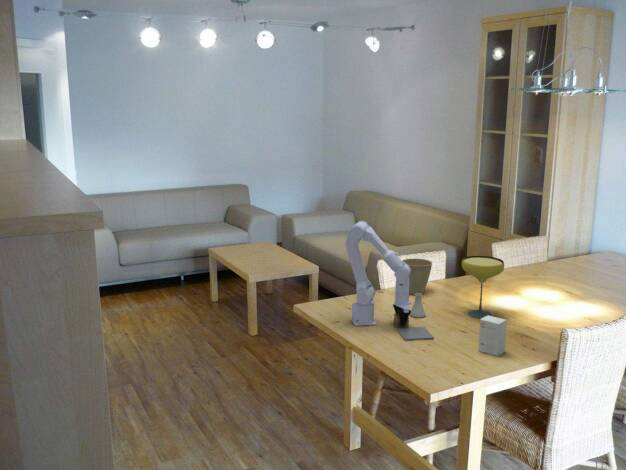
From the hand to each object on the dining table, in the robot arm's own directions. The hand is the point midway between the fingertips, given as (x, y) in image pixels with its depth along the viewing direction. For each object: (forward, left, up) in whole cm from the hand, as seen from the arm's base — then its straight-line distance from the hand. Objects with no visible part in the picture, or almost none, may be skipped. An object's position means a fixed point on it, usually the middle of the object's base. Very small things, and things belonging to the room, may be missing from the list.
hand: (401, 323), depth 265 cm
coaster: (+3, -10, -1) cm, 11 cm away
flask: (+11, +12, -2) cm, 16 cm away
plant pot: (+20, +44, -2) cm, 48 cm away
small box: (+27, -31, -2) cm, 41 cm away
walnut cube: (0, 0, -1) cm, 1 cm away
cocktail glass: (+39, +9, -2) cm, 40 cm away
